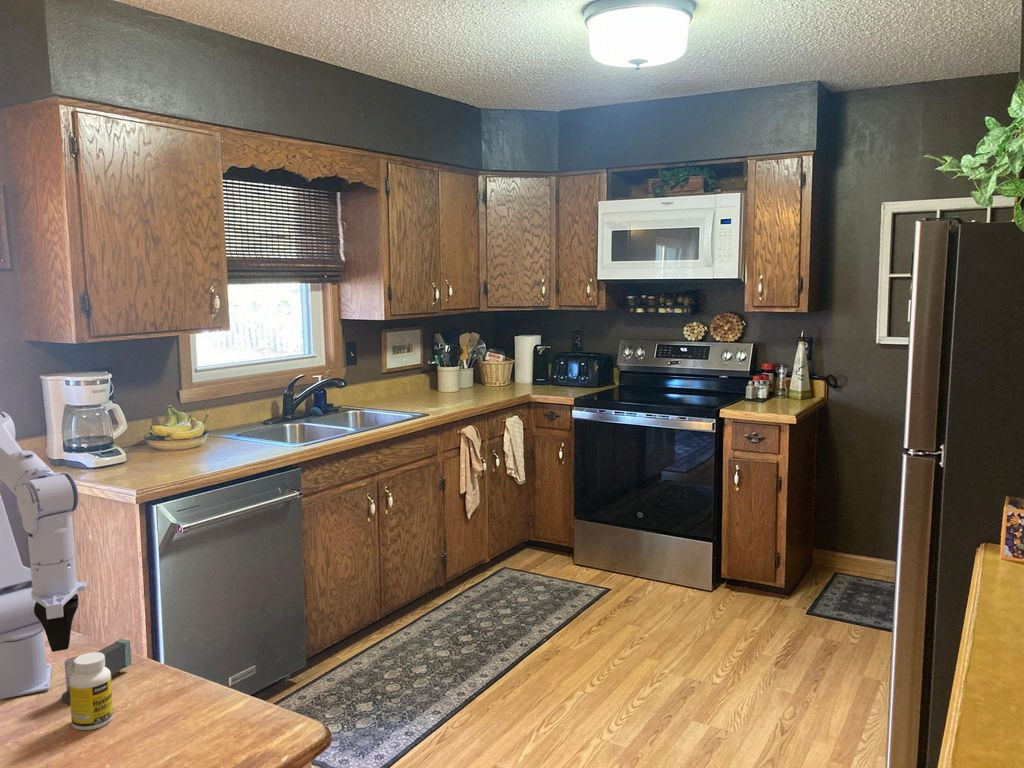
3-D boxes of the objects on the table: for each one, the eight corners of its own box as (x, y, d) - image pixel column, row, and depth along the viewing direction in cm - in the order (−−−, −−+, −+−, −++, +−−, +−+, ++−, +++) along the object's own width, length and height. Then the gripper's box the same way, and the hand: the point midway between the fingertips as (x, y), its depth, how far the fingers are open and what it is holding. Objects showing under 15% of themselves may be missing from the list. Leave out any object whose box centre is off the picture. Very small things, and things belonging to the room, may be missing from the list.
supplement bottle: (96, 733, 119) (92, 668, 118) (63, 729, 121) (58, 664, 119) (121, 714, 125) (117, 651, 123) (89, 710, 126) (85, 648, 124)
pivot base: (62, 693, 131) (62, 690, 131) (93, 687, 133) (93, 683, 133) (61, 706, 127) (61, 702, 127) (94, 700, 129) (93, 696, 129)
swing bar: (77, 697, 128) (74, 666, 127) (62, 694, 129) (59, 663, 128) (134, 665, 138) (132, 636, 138) (119, 662, 139) (117, 633, 139)
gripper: (84, 569, 117) (91, 662, 118) (83, 541, 129) (90, 625, 131) (25, 577, 113) (34, 673, 115) (31, 548, 126) (38, 634, 128)
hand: (60, 648), depth 123 cm, fingers closed
